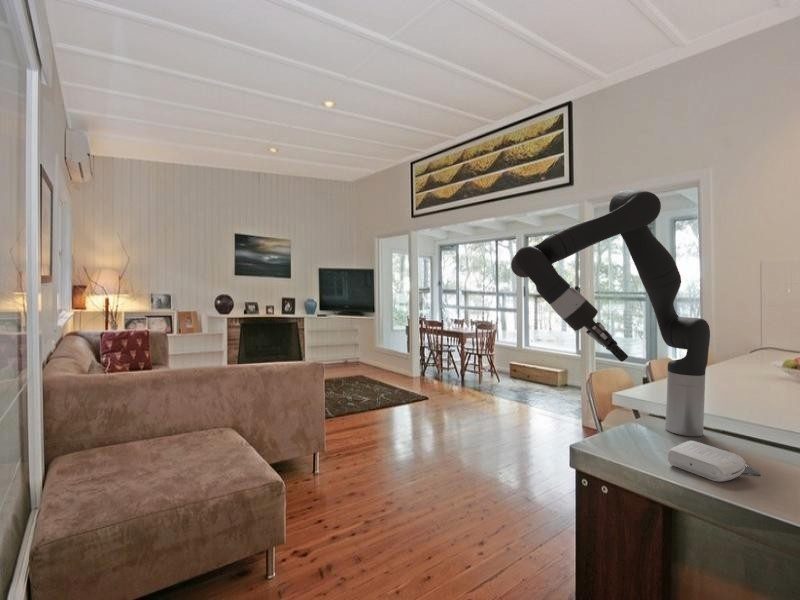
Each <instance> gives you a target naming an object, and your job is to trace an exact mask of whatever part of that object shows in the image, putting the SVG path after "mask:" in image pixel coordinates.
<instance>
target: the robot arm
mask: <svg viewBox="0 0 800 600" xmlns="http://www.w3.org/2000/svg"><path fill="white" fill-rule="evenodd" d="M661 203H662V202H661V199H660V198H659V196H657V195H656V194H655V193H654V192H651V191H647V190H633V189H628V190H625V189H624V190H621V191H618V192H616V193H615V194H614V195H613V197H612V198H611V199H610V202H609V207H608V209H609V212H608V213H606V214H603V215H601V216H598V217H596V218H592V219H588V220H585V221H581V222H578V223H575V224H572V225H570V226H567V227H565V228H563V229H561V230H558V231H557V232H554V233H553V234H551V235H549V236H547V237H546V238H544V239H543V240H542V241H541V242H539V243H537V244H535V245H534V246H533V245H527V246H526V245H525V246H523V247H521V248H520V249H518V250H517V252H516V253H515V255H513V257H512V258H511V263H510V269H511V271H512V273H513V274H514V275H515V276H517V277H519V278H529V280H530V281H532V283H533V284H534V285H535V287H536V288H535V289H536V292H537V293H538V294H539V295H540V297H542V299H543V300H545V302H547V303H548V304H549V306H550V307H551V308H552V309H553V310H554V312H555V313H556V314H557V315H558V316H559V317H560V318H561V319H562V320H563V321H564V322H565V324H567V325H568V326H569V327H570V328H571V329H572V330H573V331H575V332H577V331H580V330H581V329H583V328H585V329H586V331H585V333H586V334H587V335H588V337H590V338H592V339H593V340H595V342H597V344H599V345H600V346H602V347H603V348H605V349H606V351H609V352H610V353H611V354H612V355H613V356H614V357H615V358H616V359H617V360H618V361H620V362H624V361H625V360H627V359H628V357H629V355H628V354H627V353H626V352H625V351H624V350H623V349H622V348H621V346H619V345H618V342H617V341H616V340H615V339H614V338H613V336H612V334H611V333H610V332H609V331H608V330H607V329H606V327H605V325H603V324H602V323H601V322H599V321H597V322H596V321H594V318H595V317H596V316H597V315H598V313H599V310H598V309H597V308H595V307H596V306H595V307H594V305H593V304H592V303H591V302H590V301H589V300H588V299H586V297H584V296H583V295H582V293H580V292H579V291H578V290H577V289H576V288H574V287H573V286H572V285H570V283H568V281H566V280H565V278H564V277H562V276H561V275H560V274H559V272H557V270H556V269H555V266H553V264H555V263H557V262H560V261H563V260H565V259H567V258H569V257H571V256H572V255H575V254H577V253H579V252H581V251H583V250H584V249H586V248H589V247H591V246H593V245H595V244H598V243H601V242H604V241H605V240H608V239H610V238H613V237H616V236H618V235H619V236H621V238H622V239H623V241H624V243H625V245H626V247H627V249H628V252H629V254H630V257H631V259H632V261H633V264H634V265H635V268H636V270H637V273H638V276H639V278H640V281H641V282H642V283H641V284H642V285H643V287H644V289H645V291H646V294H647V297H648V299H649V301H650V303H651V306H652V309H653V311H654V314H655V317H656V321H657V325H658V329H659V332H660V335H661V338H662V340H663V342H664V343H665V344H666V345H667V346H668V347H671V348H674V349H681V350H686V354H685V356H684V357H682V358H679V359H673V360H670V361H668V362H667V372H666V373H667V374H666V375H667V376H666V378H667V379H666V382H667V384H666V403H665V404H666V407H665V431H668V432H670V433H673V434H677V435H680V436H685V437H702V436H704V420H705V391H706V370H707V365H708V361H709V349H710V340H711V329H710V325H709V323H708V322H707V320H705V319H704V318H697V317H696V318H695V317H686V316H685V317H684V316H683V317H682V316H679V315H678V314H677V312H676V309H675V306H674V302H675V300H676V297H677V294H678V293H679V291H680V287H681V284H682V278H681V274H680V271H679V269H678V266H677V264H676V262H675V261H676V260H675V259H674V257H673V256H672V254H671V253H670V252H669V250H668V249H667V248H666V247H665V246H664V245H663V244H662V243H661V242H660V241H659V240H658V239H657V238H656V236H655V235H654V234H653V233H652V231H651V230H650V227H649V225H650V224H652V223H653V222H654V221H655V220H656V219H657V218H658V216H659V215H660V212H661V208H662V205H661Z"/></svg>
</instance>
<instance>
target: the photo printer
mask: <svg viewBox="0 0 800 600" xmlns="http://www.w3.org/2000/svg"><path fill="white" fill-rule="evenodd" d="M721 449H722V448H719V447H716V446H715V447H714V446H712V445H710V444H705V443H702V442H699V441H696V440H687V441H685V442H682V443H680V444H677V445H676V446H673V447H671V448H670V449H669V450H668V452H667V453H668V454H667V461H668V463H669V464H670V465H672V466H673V467H675V468H678V469H681V470H684V471H686V472H689V473H692V474H694V475H697V476H700V477H703V478H704V479H708V480H710V481H713V482H727V481H732V480H734V479H736V478H737V477H739V476H740V475H743V474H742V473H743V471H744V470H745V463H746V461H745V459H744V458H743V457H742V456H740V455H739V454H738V453H733V452H731V451H730V452H728V451H729V450H728V451H725V450H721Z"/></svg>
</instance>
